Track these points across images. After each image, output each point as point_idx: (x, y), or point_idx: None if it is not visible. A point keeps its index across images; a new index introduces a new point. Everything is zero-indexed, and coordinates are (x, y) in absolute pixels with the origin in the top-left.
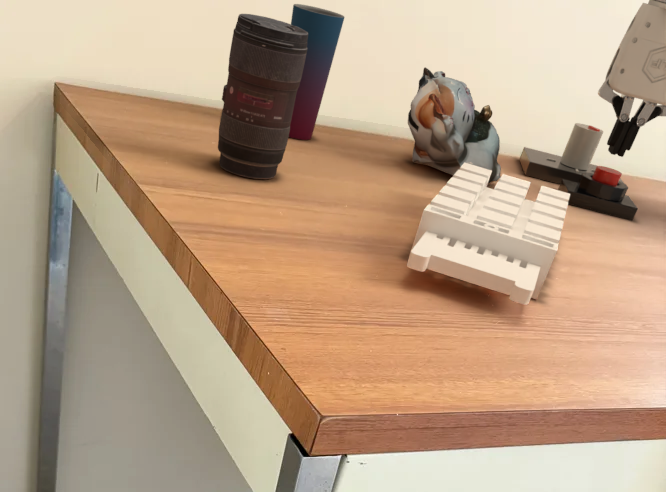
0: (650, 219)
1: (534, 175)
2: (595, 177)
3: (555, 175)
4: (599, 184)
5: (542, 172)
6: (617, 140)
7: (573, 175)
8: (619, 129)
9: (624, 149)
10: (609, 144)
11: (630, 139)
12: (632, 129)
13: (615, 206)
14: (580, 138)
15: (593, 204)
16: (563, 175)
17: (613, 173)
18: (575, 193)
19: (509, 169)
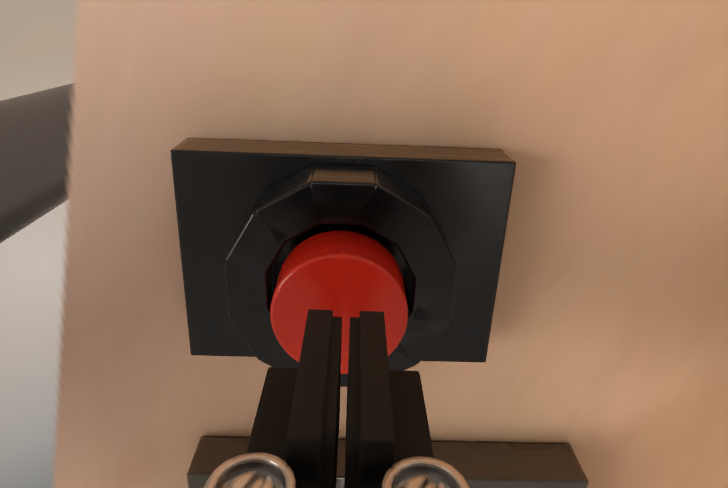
0: (95, 251)
1: (538, 448)
2: (398, 271)
3: (469, 460)
4: (389, 188)
5: (520, 459)
6: (387, 358)
7: None
8: (400, 436)
9: (316, 328)
10: (412, 371)
11: (299, 369)
12: (311, 417)
13: (278, 150)
14: None
15: (377, 149)
16: None
17: (328, 256)
18: (478, 160)
19: (615, 473)
